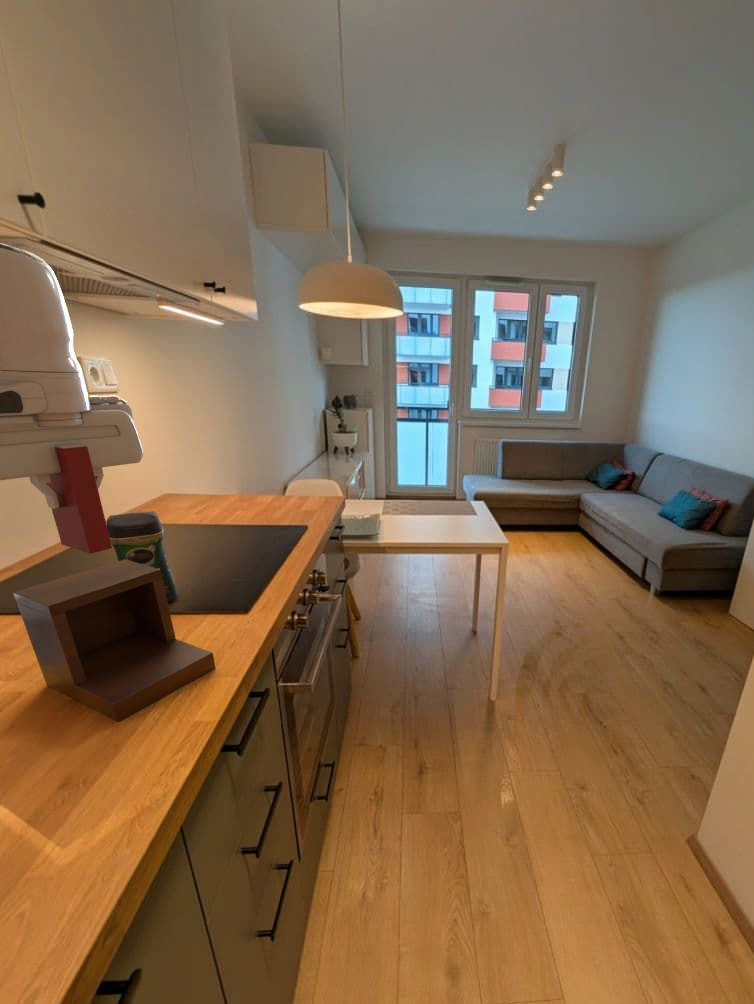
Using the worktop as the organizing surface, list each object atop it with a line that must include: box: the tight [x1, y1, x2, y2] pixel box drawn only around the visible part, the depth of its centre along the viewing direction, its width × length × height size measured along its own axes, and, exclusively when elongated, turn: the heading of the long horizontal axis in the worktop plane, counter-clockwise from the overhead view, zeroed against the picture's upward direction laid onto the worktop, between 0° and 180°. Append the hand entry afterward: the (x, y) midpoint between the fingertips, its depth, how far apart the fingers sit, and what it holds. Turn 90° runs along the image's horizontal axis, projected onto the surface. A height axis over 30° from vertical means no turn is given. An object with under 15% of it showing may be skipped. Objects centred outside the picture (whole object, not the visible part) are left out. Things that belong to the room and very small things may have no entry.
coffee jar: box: [106, 511, 179, 604], centre depth 102 cm, size 10×8×19 cm
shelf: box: [12, 559, 216, 723], centre depth 77 cm, size 18×16×16 cm
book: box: [46, 444, 113, 555], centre depth 69 cm, size 7×3×14 cm, turn 62°
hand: (75, 504), depth 70 cm, fingers closed on book, 3 cm apart
